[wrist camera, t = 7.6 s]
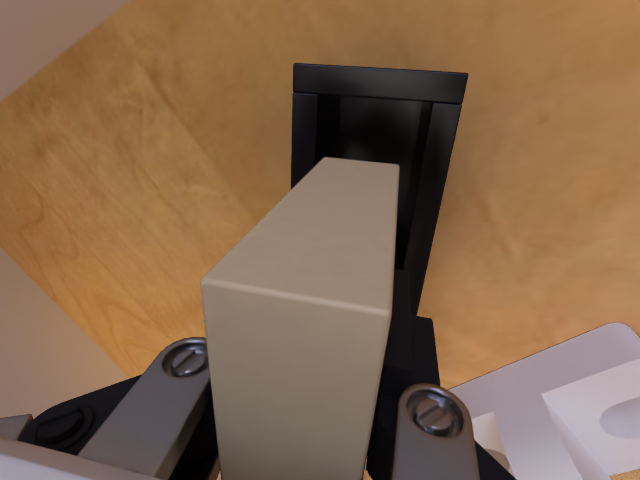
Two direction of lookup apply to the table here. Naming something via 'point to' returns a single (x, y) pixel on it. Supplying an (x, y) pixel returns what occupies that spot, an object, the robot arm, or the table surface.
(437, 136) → the toaster
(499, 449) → the u-slot stand
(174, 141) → the table surface
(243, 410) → the white flat square block
